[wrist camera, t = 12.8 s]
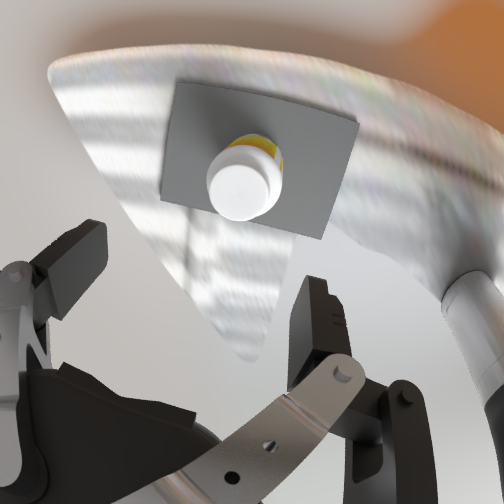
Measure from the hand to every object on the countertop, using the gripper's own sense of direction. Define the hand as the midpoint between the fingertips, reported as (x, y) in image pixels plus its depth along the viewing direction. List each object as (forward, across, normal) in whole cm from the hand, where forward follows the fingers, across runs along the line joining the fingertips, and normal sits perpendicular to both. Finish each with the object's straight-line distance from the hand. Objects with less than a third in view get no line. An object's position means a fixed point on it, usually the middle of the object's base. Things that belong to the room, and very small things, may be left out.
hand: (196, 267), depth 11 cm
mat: (+20, 0, 0) cm, 20 cm away
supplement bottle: (+19, 0, 0) cm, 19 cm away
